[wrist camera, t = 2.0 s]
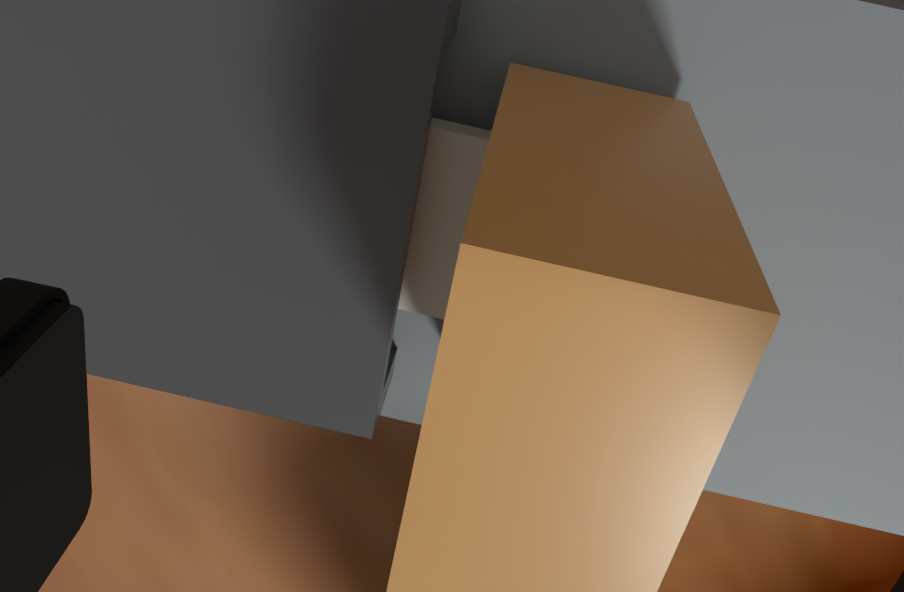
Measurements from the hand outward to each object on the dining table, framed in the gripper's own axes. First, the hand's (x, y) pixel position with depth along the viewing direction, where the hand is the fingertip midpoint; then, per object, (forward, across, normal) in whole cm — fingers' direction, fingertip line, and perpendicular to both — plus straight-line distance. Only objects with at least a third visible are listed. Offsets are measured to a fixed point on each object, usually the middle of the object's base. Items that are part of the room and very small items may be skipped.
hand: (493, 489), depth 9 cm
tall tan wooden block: (+7, +4, 0) cm, 8 cm away
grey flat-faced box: (+7, +6, 0) cm, 10 cm away
